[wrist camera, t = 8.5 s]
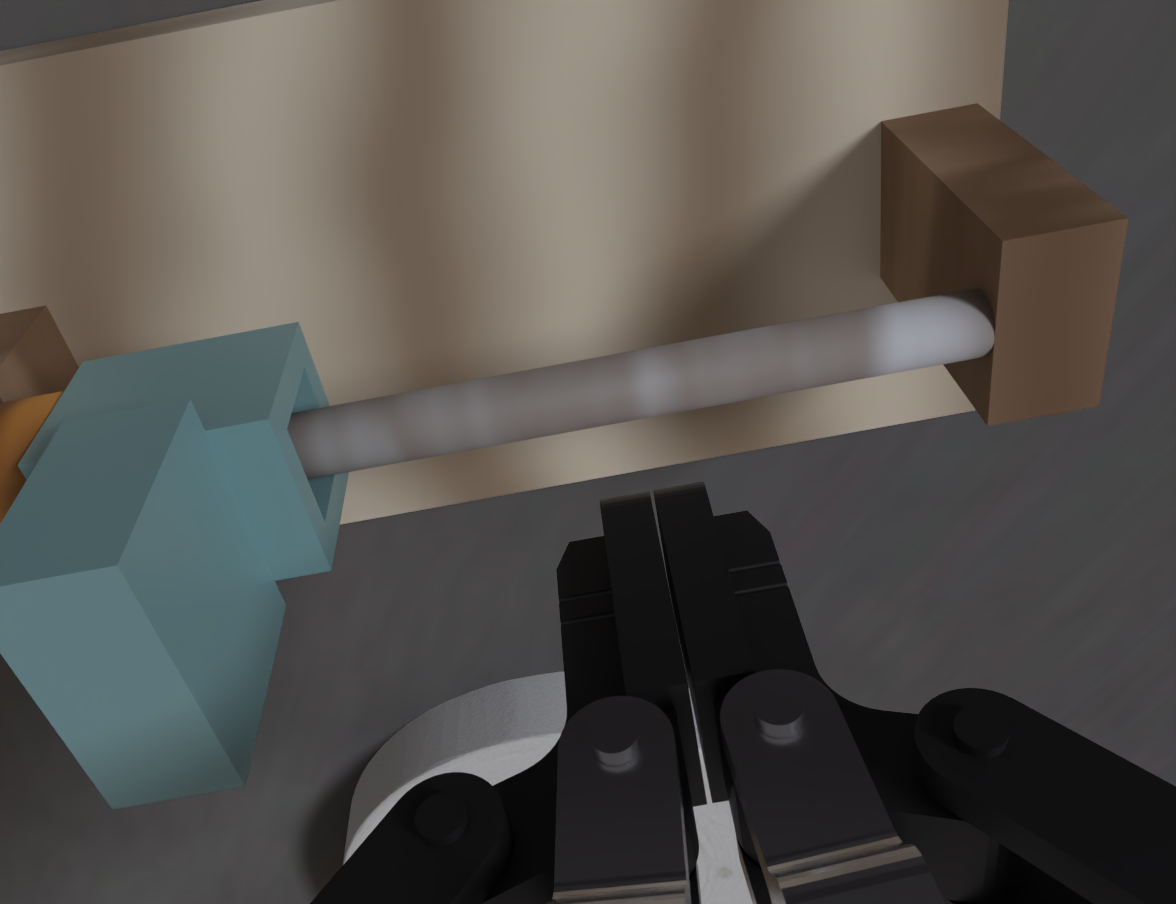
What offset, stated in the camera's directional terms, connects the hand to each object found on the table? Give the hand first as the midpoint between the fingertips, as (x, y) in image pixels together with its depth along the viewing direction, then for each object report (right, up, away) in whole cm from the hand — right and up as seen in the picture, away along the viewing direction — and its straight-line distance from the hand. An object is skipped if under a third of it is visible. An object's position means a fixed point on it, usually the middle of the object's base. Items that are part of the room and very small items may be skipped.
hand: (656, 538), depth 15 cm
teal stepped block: (-8, +2, +5) cm, 9 cm away
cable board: (-4, +6, +9) cm, 11 cm away
